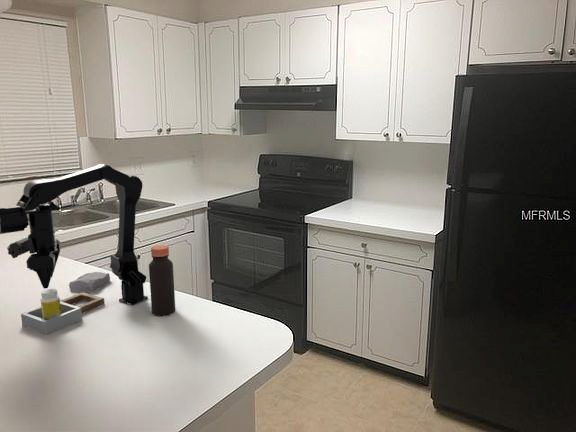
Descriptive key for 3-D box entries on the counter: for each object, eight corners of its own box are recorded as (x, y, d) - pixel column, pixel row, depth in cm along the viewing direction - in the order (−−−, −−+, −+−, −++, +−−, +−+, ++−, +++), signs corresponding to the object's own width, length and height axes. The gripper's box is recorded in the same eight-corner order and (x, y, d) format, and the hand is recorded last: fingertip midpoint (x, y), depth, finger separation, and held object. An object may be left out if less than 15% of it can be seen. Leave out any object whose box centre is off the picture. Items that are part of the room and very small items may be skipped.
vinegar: (147, 312, 141) (142, 247, 137) (167, 305, 146) (163, 242, 142) (160, 318, 137) (155, 252, 132) (180, 311, 141) (176, 247, 137)
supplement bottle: (64, 318, 134) (61, 290, 132) (46, 324, 131) (43, 295, 129) (57, 314, 137) (54, 286, 136) (40, 319, 134) (36, 291, 132)
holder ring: (104, 304, 147) (103, 298, 146) (76, 316, 138) (75, 309, 138) (83, 298, 152) (82, 292, 151) (54, 309, 143) (53, 302, 143)
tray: (82, 319, 136) (81, 307, 136) (46, 334, 127) (45, 322, 126) (58, 311, 142) (57, 300, 141) (22, 325, 132) (20, 313, 132)
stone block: (67, 296, 158) (94, 292, 156) (64, 283, 157) (90, 279, 155) (88, 285, 170) (113, 281, 168) (85, 272, 169) (110, 268, 167)
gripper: (14, 222, 134) (21, 275, 138) (0, 238, 117) (8, 298, 121) (58, 219, 138) (63, 271, 141) (50, 235, 121) (56, 293, 124)
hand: (48, 282), depth 132 cm, fingers open, 9 cm apart
